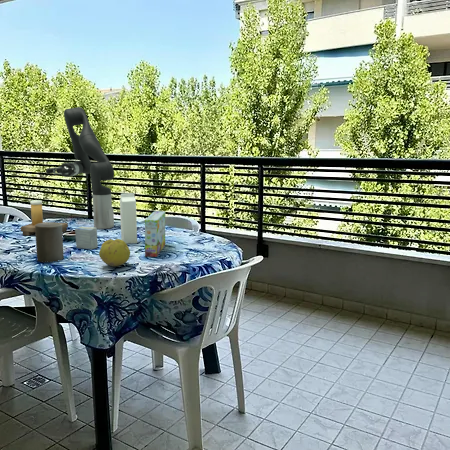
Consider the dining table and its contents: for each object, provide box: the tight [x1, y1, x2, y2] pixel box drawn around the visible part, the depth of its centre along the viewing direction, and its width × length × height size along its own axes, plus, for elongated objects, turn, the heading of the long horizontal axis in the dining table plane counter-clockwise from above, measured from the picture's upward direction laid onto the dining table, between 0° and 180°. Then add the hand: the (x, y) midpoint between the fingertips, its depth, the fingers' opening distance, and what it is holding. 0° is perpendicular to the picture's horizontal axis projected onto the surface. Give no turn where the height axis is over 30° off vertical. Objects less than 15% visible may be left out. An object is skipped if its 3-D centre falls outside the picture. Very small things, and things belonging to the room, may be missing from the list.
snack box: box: [144, 210, 166, 258], centre depth 188 cm, size 21×6×15 cm, turn 179°
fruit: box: [98, 238, 131, 267], centre depth 166 cm, size 11×12×10 cm
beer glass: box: [29, 199, 44, 225], centre depth 219 cm, size 5×5×12 cm
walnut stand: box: [20, 221, 69, 236], centre depth 219 cm, size 17×13×4 cm
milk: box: [119, 192, 138, 245], centre depth 201 cm, size 6×6×22 cm
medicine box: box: [74, 226, 99, 250], centre depth 192 cm, size 8×4×9 cm, turn 71°
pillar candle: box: [34, 221, 64, 263], centre depth 174 cm, size 10×10×15 cm
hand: (54, 171), depth 234 cm, fingers open, 8 cm apart
